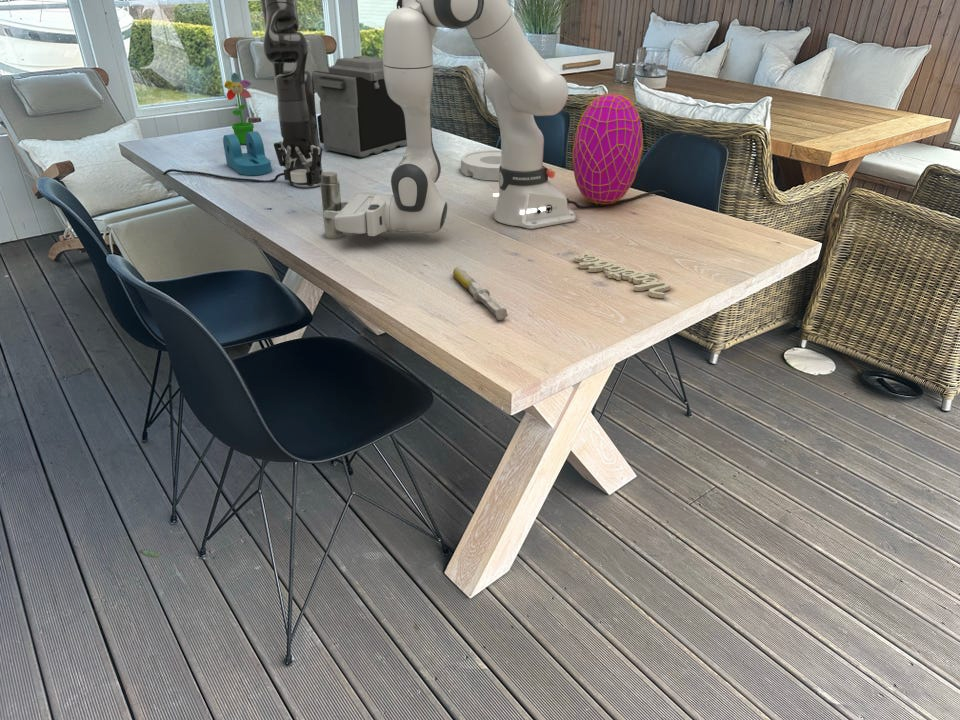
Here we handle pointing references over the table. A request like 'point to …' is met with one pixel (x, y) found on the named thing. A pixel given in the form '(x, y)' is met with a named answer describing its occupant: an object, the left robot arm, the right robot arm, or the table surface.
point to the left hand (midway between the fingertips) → (302, 183)
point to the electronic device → (358, 108)
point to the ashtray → (482, 164)
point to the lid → (298, 176)
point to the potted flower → (237, 88)
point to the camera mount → (246, 154)
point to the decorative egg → (607, 148)
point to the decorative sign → (625, 274)
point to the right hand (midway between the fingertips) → (328, 209)
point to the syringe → (479, 293)
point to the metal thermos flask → (330, 202)
